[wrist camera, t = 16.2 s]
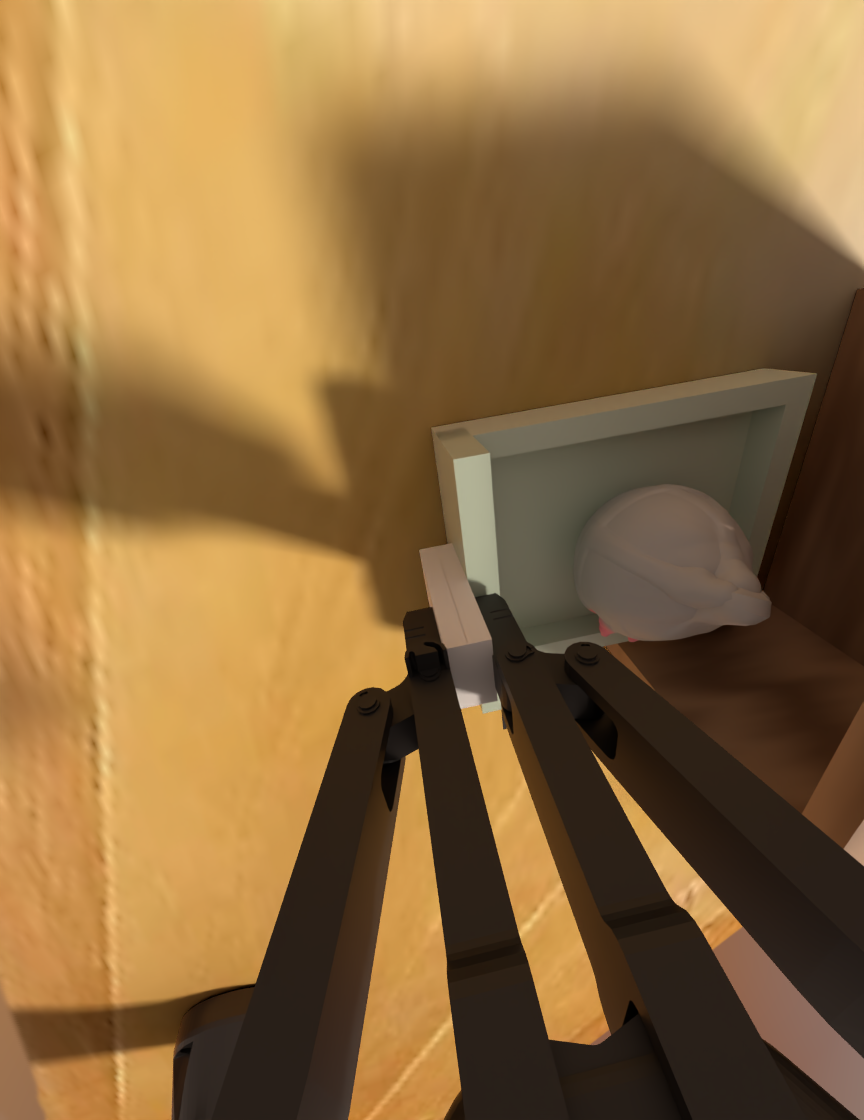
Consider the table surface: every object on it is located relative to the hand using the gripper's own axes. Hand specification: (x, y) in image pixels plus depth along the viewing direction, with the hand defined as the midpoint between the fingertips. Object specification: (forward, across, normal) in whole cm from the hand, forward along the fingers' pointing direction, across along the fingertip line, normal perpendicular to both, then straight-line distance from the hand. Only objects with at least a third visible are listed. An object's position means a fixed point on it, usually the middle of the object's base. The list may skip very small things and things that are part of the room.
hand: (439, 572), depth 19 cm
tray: (+2, +8, 0) cm, 8 cm away
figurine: (+1, +9, 0) cm, 9 cm away
